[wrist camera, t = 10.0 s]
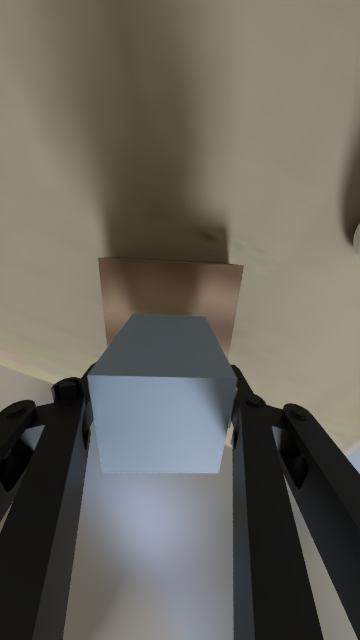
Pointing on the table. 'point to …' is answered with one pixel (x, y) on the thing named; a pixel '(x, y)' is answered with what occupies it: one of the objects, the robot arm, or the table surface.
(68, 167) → the table surface
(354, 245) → the sauce bottle
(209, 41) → the table surface
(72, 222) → the table surface
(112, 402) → the block
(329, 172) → the table surface
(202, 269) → the plinth
